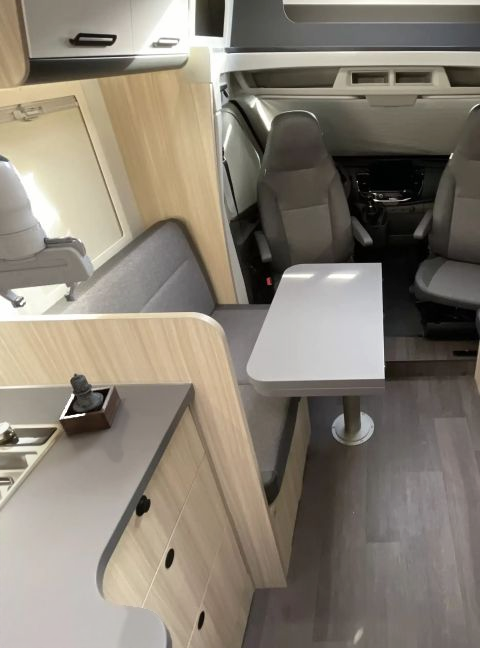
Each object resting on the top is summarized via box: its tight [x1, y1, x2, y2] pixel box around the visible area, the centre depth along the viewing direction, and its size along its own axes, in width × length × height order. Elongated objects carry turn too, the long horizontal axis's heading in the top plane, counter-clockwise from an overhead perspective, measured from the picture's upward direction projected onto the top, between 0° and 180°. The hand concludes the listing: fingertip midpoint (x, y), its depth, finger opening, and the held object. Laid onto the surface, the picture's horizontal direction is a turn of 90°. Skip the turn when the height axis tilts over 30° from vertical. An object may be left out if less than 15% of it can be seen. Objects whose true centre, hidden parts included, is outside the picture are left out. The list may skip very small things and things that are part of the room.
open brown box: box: [58, 384, 122, 436], centre depth 100 cm, size 9×9×5 cm
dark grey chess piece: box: [69, 373, 103, 414], centre depth 98 cm, size 6×6×12 cm
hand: (46, 303), depth 89 cm, fingers open, 8 cm apart
